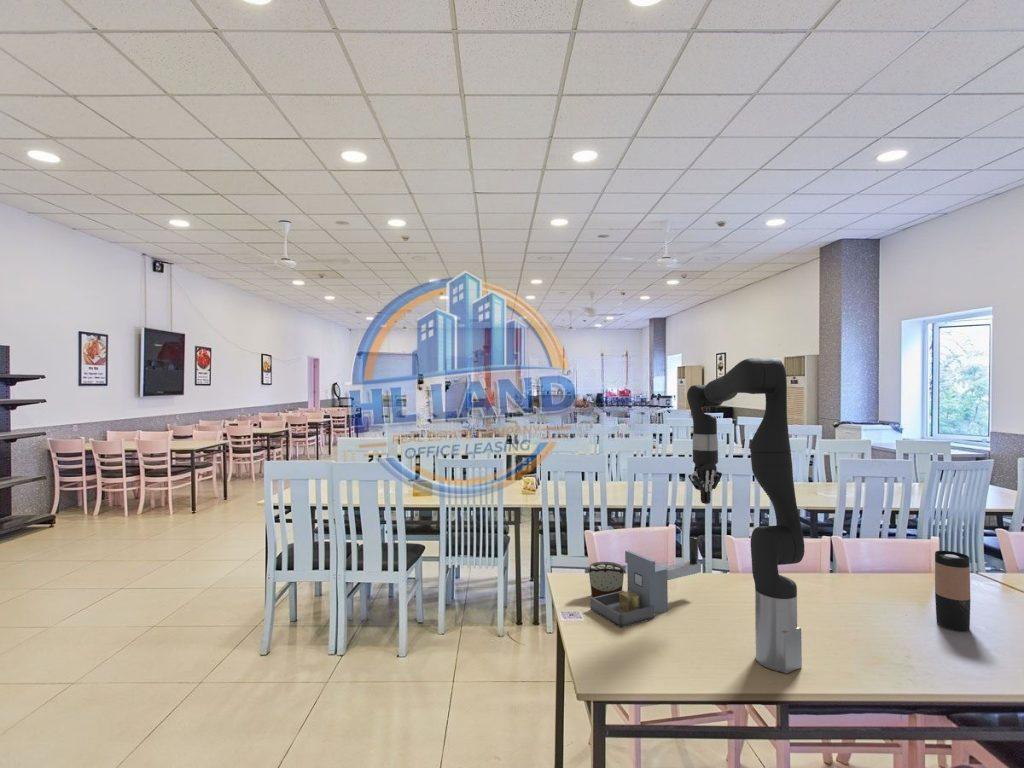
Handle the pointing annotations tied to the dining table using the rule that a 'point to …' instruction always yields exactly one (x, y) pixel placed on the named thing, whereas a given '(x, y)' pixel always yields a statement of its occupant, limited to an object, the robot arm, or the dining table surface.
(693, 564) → the grey lever black handle
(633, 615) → the tray
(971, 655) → the dining table surface
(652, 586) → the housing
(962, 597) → the travel mug
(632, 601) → the block
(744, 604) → the dining table surface
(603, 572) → the food container
